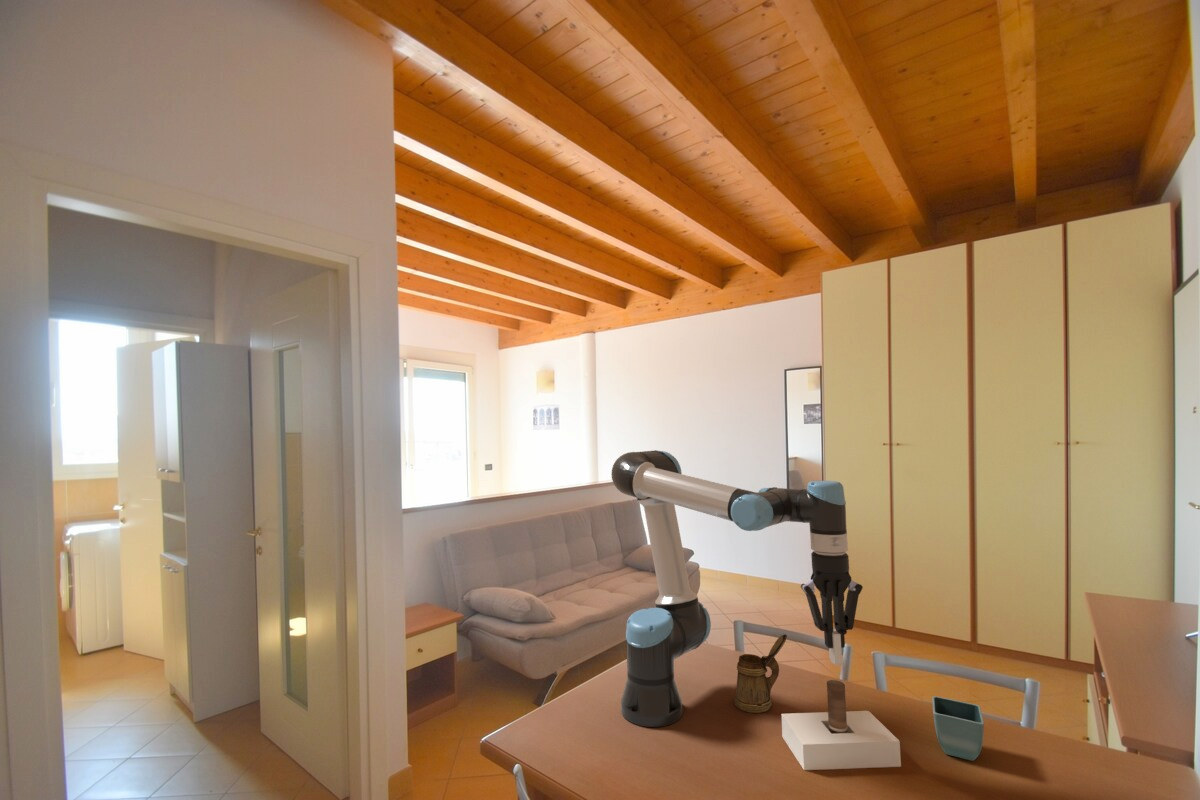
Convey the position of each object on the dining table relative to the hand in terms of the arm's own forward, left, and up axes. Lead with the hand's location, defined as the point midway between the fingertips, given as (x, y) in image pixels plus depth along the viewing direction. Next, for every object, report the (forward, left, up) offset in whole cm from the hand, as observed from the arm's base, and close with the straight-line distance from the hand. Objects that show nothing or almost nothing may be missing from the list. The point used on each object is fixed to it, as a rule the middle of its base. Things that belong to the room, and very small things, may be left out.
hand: (835, 662), depth 115 cm
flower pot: (+2, +25, -19) cm, 31 cm away
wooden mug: (-20, -10, -19) cm, 29 cm away
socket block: (0, 0, -19) cm, 19 cm away
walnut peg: (0, 0, -19) cm, 19 cm away
